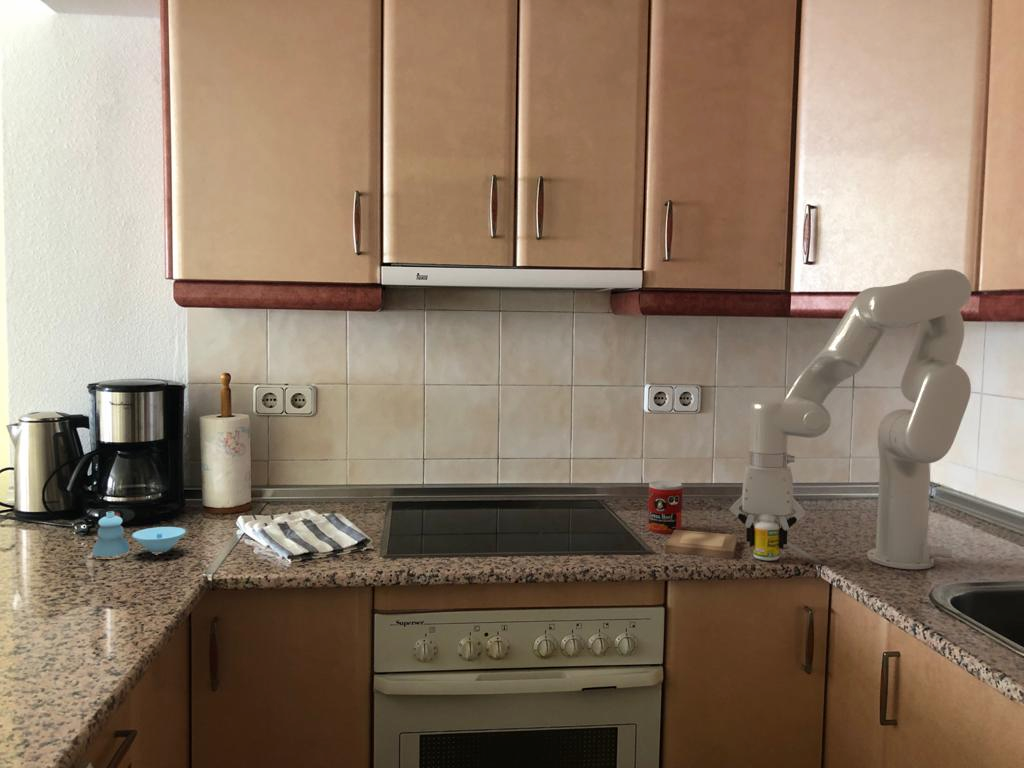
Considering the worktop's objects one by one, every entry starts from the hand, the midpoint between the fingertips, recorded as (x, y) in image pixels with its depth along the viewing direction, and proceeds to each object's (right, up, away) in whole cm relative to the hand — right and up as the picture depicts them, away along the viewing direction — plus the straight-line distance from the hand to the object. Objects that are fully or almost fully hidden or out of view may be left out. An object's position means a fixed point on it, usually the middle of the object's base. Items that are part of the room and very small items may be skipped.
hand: (766, 545), depth 181 cm
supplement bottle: (0, -3, 0) cm, 3 cm away
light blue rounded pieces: (-130, -2, -2) cm, 130 cm away
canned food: (-17, -1, +23) cm, 29 cm away
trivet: (-11, -2, +9) cm, 15 cm away
